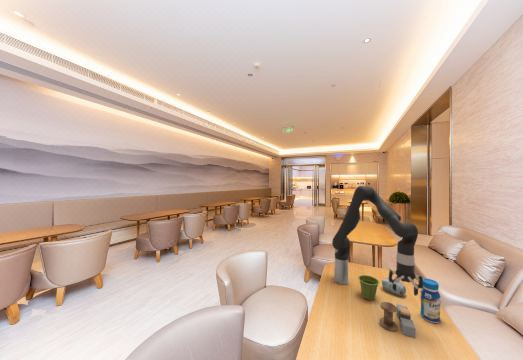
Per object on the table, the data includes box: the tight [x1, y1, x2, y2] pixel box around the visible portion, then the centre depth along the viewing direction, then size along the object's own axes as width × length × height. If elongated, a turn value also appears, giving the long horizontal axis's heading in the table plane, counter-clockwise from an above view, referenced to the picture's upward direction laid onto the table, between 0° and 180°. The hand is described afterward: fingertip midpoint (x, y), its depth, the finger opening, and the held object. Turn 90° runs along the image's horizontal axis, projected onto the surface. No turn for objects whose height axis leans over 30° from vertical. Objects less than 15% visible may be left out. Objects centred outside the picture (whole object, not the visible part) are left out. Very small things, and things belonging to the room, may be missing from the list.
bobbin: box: [378, 301, 399, 332], centre depth 101 cm, size 8×8×10 cm
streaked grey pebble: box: [381, 277, 407, 297], centre depth 130 cm, size 14×10×10 cm
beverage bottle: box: [419, 278, 442, 324], centre depth 106 cm, size 8×8×20 cm
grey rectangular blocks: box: [395, 304, 416, 339], centre depth 102 cm, size 5×18×4 cm, turn 154°
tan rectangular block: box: [400, 307, 412, 320], centre depth 102 cm, size 4×4×7 cm
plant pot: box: [358, 274, 380, 301], centre depth 125 cm, size 12×12×11 cm
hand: (404, 292), depth 102 cm, fingers open, 8 cm apart
